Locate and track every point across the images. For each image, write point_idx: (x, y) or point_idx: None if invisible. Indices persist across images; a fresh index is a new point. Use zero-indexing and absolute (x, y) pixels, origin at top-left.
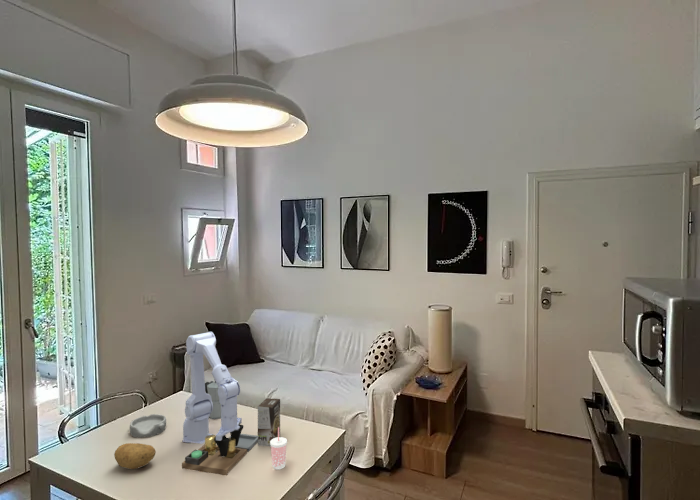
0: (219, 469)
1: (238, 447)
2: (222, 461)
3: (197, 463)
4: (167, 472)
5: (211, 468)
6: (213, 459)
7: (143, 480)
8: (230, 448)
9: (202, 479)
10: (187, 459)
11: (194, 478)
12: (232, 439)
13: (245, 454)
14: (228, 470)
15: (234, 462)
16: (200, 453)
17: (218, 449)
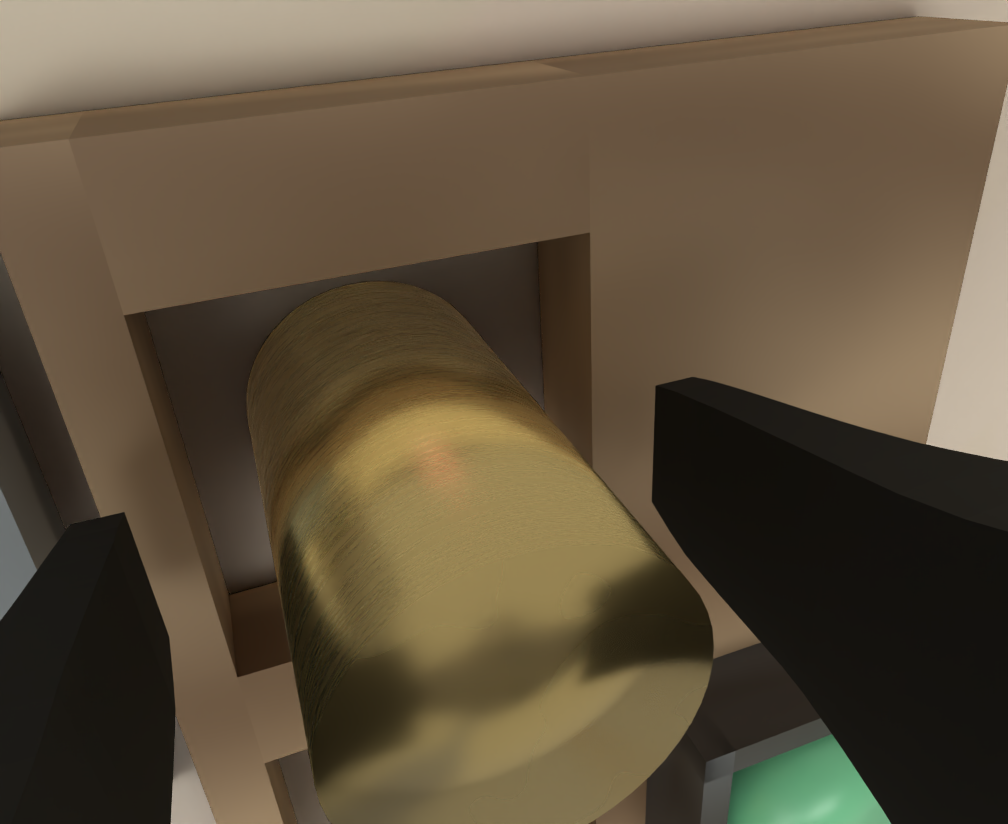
0: (969, 205)
1: (6, 493)
2: (744, 349)
3: None
4: None
5: (927, 373)
6: None
7: None
8: (575, 454)
9: (998, 342)
10: None
11: (974, 454)
12: (464, 679)
13: (85, 119)
14: (912, 27)
15: (711, 58)
16: (847, 780)
17: (276, 776)
